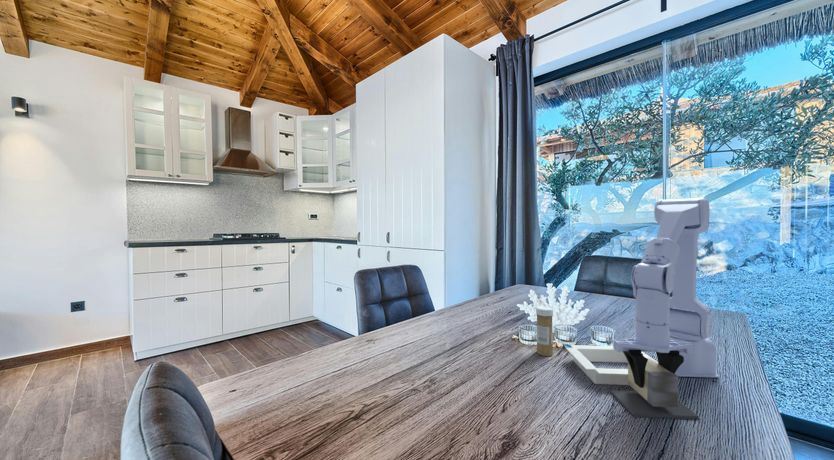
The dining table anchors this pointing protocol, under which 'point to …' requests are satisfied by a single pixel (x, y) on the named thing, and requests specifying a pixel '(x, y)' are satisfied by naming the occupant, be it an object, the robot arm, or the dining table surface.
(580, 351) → the white flat frame
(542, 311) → the sprinkles bottle
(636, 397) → the rubber mat
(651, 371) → the birch block
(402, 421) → the dining table surface
